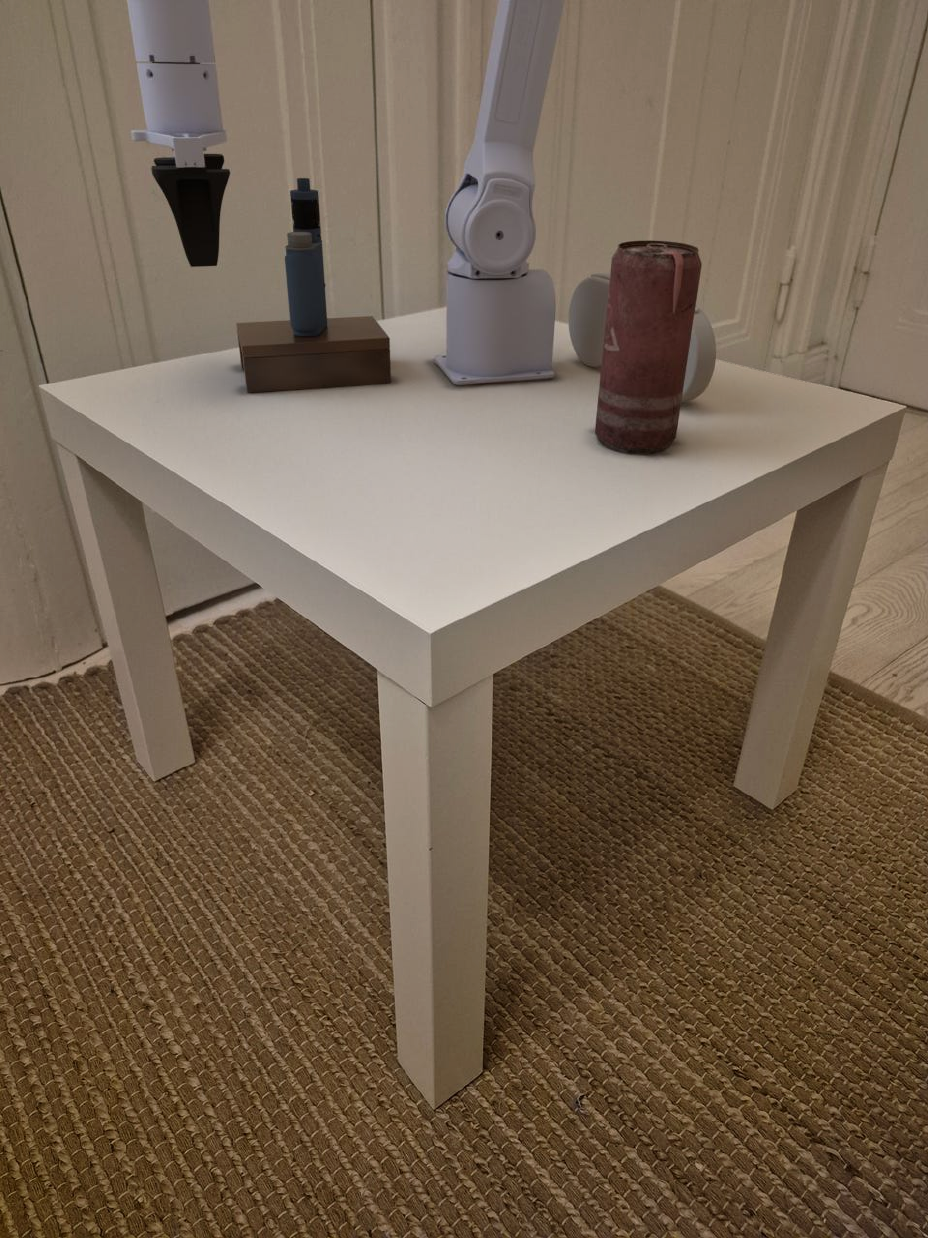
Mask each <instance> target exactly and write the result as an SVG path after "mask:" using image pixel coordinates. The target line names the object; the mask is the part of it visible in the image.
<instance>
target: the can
mask: <svg viewBox="0 0 928 1238" xmlns="http://www.w3.org/2000/svg"><path fill="white" fill-rule="evenodd" d="M610 262H611V263H610V273H609V274H610V282H609V292H608V303H607V313H606V323H605V333H604V343H603V354H602V364H601V367H600V375H599V385H598V394H597V395H598V396H597V406H596V417H595V426H594V434H595V436H596V438H597V441H598V442H599V443H600V444H601V445H602V446H604V447H605V448H607V449H609V450H612V451H615V452H618V453H624V454H628V455H629V454H631V455H651V454H652V455H653V454H657V453H661V452H664V451H666V450H668V449H669V448H670V446H671V445H672V444H673V443H674V441H675V440H677V435H678V426H679V419H680V414H681V413H680V412H681V407H682V402H681V401H682V394H683V387H684V380H685V374H686V367H687V360H688V354H689V347H690V340H691V333H692V327H693V320H694V313H695V307H696V305H697V300H698V292H699V287H700V286H699V285H700V279H701V272H702V265H703V263H702V261H701V257H700V255H699V248H698V246H695V245H693V244H688V243H685V242H684V243H683V242H676V241H670V240H669V241H667V240H648V239H647V240H630V241H625V242H621V243H619V244H618V245H617V249H616V250H615V252H614V253H613V255H612V257H611V261H610Z"/></svg>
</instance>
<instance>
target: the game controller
mask: <svg viewBox="0 0 928 1238" xmlns="http://www.w3.org/2000/svg"><path fill="white" fill-rule="evenodd" d="M609 282H610V273H607V272H598V273H591V274H590V276H588V277H586V278H584V279H583V280H581V281H580V282H579V283H578V285H577V286H576V287H575V289H574V291H573V293H572V296H571V298H570V299H571V300H570V303H569V309H568V333H569V337H570V341H571V345H572V347H573V350H574V352H575V354H576V356H577V357H578V359H579V360H580V361H581V362H582V363H583V364H584V365H586V366H588V367H590V368H601V364H602V354H603V343H604V333H605V323H606V313H607V303H608V292H609ZM716 361H717V343H716V336H715V332H714V329H713V326H712V324H711V321H710V320H709V317H708V316H707V315H706V313H705V312H704V311H703V309H701V308H700V307H699V306H698V305H697V304H696V307H695V313H694V320H693V327H692V333H691V340H690V347H689V354H688V360H687V367H686V374H685V380H684V387H683V394H682V401H681V403H683V402H684V403H685V402H689V401H692V400H695V399H696V398H698V397H700V396H701V395H702V394H703V393H704V392H705V391H706V389H707V387H709V383H710V382H711V380H712V377H713V376H714V371H715V368H716Z"/></svg>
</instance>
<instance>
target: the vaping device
mask: <svg viewBox="0 0 928 1238" xmlns="http://www.w3.org/2000/svg"><path fill="white" fill-rule="evenodd" d="M296 186H297V187H296V188H297V189H291V190H289V196H290V197H289V198H290V208H291V220H292V222H293V223H292V231H291V232H287V233H286V235H287V245H285V248H284V249H285V254H286V255H285V256H284V265H285V266H284V267H285V277H286V288H287V289H286V290H287V301H288V311H289V312H288V313H289V320H290V324H291V327H292V329H293V334H294V335H296V336H300V337H313V336H317V335H319V334H320V333H321V332H322V330H323V329H324V328H325V327H326V326H327V318H328V311H327V297H326V286H327V284H326V282H325V281H326V279H325V266H324V265H325V264H324V251H323V240H322V230H321V229H322V228H321V214H320V213H321V212H320V199H319V190H317V189H311V180H310V178H309V177H298V178H296Z"/></svg>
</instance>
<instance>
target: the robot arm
mask: <svg viewBox="0 0 928 1238" xmlns="http://www.w3.org/2000/svg"><path fill="white" fill-rule="evenodd" d="M126 5H127V11H128V18H129V24H130V31H131V36H132V37H131V38H132V42H133V49H134V56H135V62H136V68H137V74H138V82H139V87H140V94H141V100H142V101H141V102H142V106H143V107H142V108H143V113H144V120H145V127H146V129H132V130H131V131H130V134H131V140H132V141H133V142H146V143H147V144H150V145H154V146H155V145H156V146H160V147H165V148H170V149H171V151H172V152H173V153H174V157H172V156H171V157H167V156H166V157H165V156H164V157H155V158H154V159H153V163H154V165H152V166H151V167H150V169H151V175H152V177H153V179H154V180H155V182H156V184H157V185H158V186H159V188H160V190H161V191H162V193H163V195H164V197H165V199H166V201H167V203H168V206H169V208H170V210H171V213H172V215H173V218H174V221H175V225H176V227H177V231H178V235H179V239H180V241H181V245H182V248H183V251H184V254H185V257H186V259H187V261H188V264H189V266H190V267H191V268H197V267H198V268H199V267H217V266H218V262H219V253H220V227H221V226H220V225H221V224H220V223H221V214H222V213H221V212H222V206H223V201H224V195H225V192H226V189H227V185H228V182H229V179H230V177H231V171H230V169H229V168H223V166H224V164H225V156H224V155H223V153H222V154H221V153H204V152H207V148H211V147H213V146H218V145H221V144H225V143H227V142H228V136H227V130H225V129H224V123H223V117H222V116H223V115H222V108H221V107H222V106H221V101H220V100H221V97H220V89H219V82H218V71H217V64H216V55H215V46H214V38H213V28H212V19H211V11H210V10H211V9H210V2H209V0H126ZM564 5H565V0H498V2H497V8H496V14H495V20H494V25H493V32H492V37H491V41H490V48H489V52H488V53H489V54H488V59H487V66H486V71H485V77H484V83H483V88H482V95H481V98H480V99H481V100H480V105H479V111H478V116H477V122H476V128H475V133H474V137H473V138H474V139H473V142H472V144H471V147H470V149H469V152H468V154H467V157H466V160H465V162H464V166H463V171H462V176H461V180H460V182H459V184H458V186H457V188H456V190H455V191H454V192H453V193H452V195H451V197H450V199H449V200H448V202H447V205H446V208H445V213H444V226H445V230H446V234H447V236H448V238H449V240H450V242H451V243H452V244H453V246H454V247H455V250H454V252H453V255H452V256H451V258H450V259H449V260H448V261H447V262H446V316H445V317H446V324H445V326H446V333H445V335H446V336H445V337H446V338H445V339H446V340H445V341H446V343H445V344H446V345H445V346H446V350H445V351H446V352H445V354H444V355H435V356H434V357H433V362H434V363H435V364H436V365H437V366H438V367H439V369H440V370H441V371H442V372H443V373H444V375H446V376H447V378H448V379H449V380H450V381H451V382H452V384H454V385H457V386H463V385H476V384H487V383H488V384H489V383H491V384H492V383H503V382H518V381H530V380H546V379H553V378H554V377H555V372H554V371H553V370H552V369H553V353H554V341H555V339H554V337H555V323H556V307H557V306H556V301H557V300H556V291H555V285H554V281H553V278H552V276H551V275H550V273H549V271H547V270H545V269H541V268H537V269H536V268H535V269H533V268H530V263H529V262H527V260H528V259H529V257H530V255H531V254H532V252H533V249H534V246H535V244H536V243H535V241H536V238H537V226H536V221H535V215H534V212H533V199H534V193H535V189H536V175H535V174H536V173H535V165H534V151H535V150H534V149H535V145H536V141H537V140H536V139H537V136H538V135H537V134H538V130H539V127H540V126H539V125H540V119H541V115H542V111H543V106H544V101H545V96H546V93H547V92H546V91H547V88H548V87H547V86H548V82H549V76H550V73H551V69H552V68H551V67H552V63H553V57H554V52H555V49H556V44H557V43H556V42H557V38H558V35H559V30H560V23H561V18H562V15H563V10H564Z"/></svg>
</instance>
